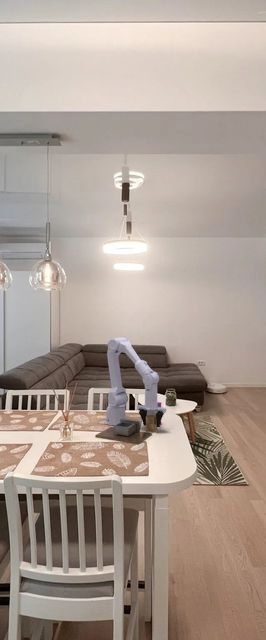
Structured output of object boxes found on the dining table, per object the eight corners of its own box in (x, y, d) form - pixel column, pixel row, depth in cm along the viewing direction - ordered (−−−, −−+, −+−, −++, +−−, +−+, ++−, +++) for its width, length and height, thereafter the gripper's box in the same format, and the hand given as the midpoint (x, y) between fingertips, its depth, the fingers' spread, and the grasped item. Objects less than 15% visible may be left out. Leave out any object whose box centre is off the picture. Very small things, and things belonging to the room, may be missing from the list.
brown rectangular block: (146, 431, 183) (145, 416, 182) (149, 429, 186) (149, 414, 186) (153, 432, 181) (153, 417, 181) (157, 430, 184) (157, 415, 184)
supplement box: (155, 427, 189) (155, 404, 188) (145, 425, 192) (145, 402, 192) (161, 424, 193) (161, 401, 193) (152, 422, 197) (151, 400, 197)
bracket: (95, 437, 174) (95, 424, 174) (111, 428, 187) (110, 416, 187) (138, 444, 164) (138, 430, 164) (152, 435, 177) (151, 422, 177)
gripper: (134, 398, 183) (134, 426, 183) (161, 401, 176) (162, 430, 176) (140, 395, 189) (140, 422, 189) (167, 397, 182) (168, 426, 183)
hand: (151, 426), depth 183 cm, fingers open, 6 cm apart
